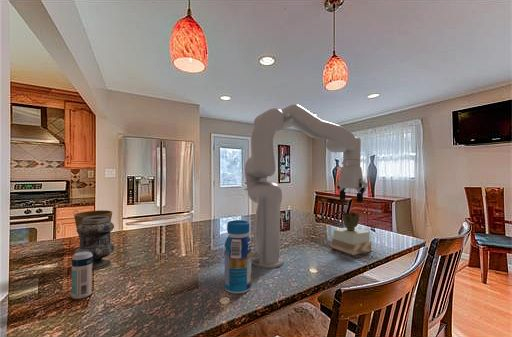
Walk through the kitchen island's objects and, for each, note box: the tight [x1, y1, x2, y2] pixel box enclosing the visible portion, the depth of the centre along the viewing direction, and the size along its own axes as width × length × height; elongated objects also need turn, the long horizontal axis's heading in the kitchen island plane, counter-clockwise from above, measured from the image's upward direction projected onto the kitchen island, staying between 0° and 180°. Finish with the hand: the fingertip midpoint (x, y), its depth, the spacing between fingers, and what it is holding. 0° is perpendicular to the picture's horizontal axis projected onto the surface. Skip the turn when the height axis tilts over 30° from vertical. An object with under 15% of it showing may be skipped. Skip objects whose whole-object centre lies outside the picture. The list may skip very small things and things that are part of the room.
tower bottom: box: [331, 238, 372, 256], centre depth 113 cm, size 12×12×4 cm
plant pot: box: [73, 209, 113, 239], centre depth 114 cm, size 15×15×16 cm
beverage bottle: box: [223, 219, 253, 295], centre depth 75 cm, size 8×8×20 cm
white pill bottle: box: [70, 251, 93, 300], centre depth 69 cm, size 5×5×12 cm
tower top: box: [333, 227, 370, 245], centre depth 114 cm, size 11×11×4 cm
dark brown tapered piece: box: [341, 211, 360, 231], centre depth 114 cm, size 8×7×8 cm
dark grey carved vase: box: [74, 216, 115, 271], centre depth 92 cm, size 12×12×18 cm
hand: (350, 201), depth 113 cm, fingers open, 9 cm apart
